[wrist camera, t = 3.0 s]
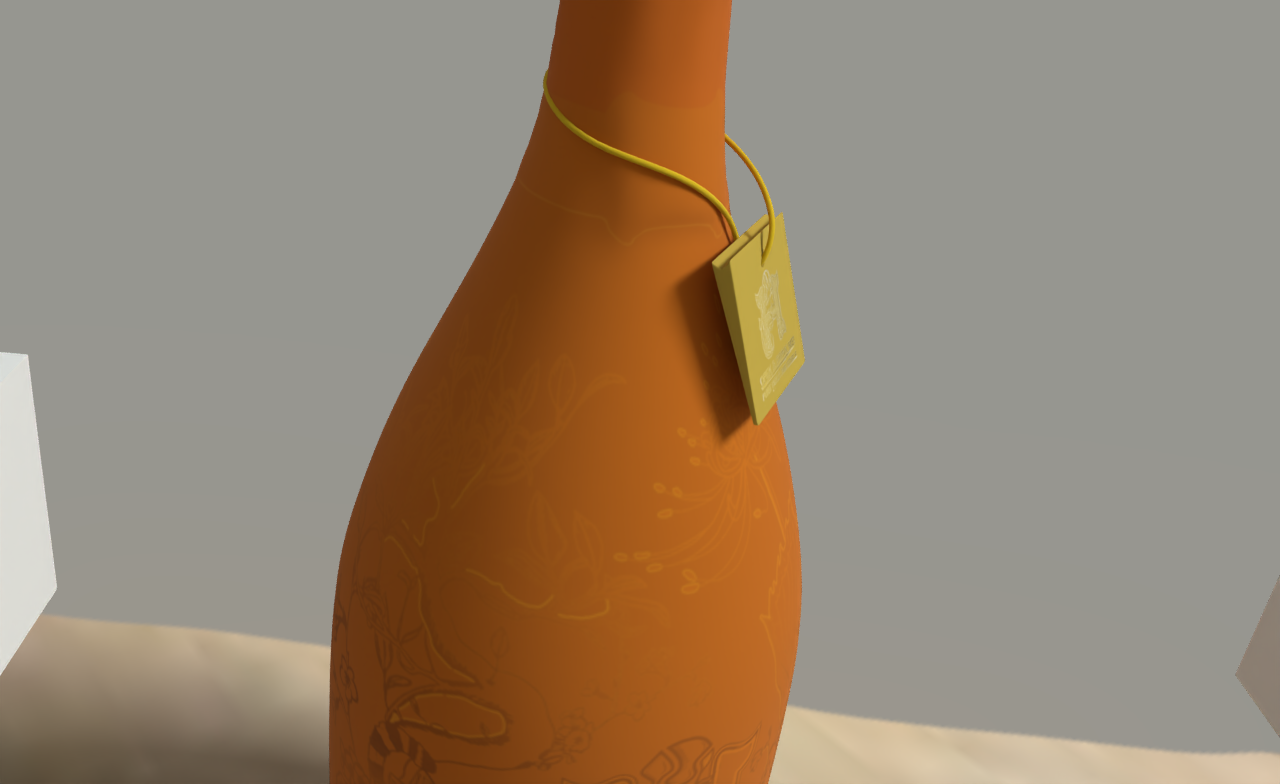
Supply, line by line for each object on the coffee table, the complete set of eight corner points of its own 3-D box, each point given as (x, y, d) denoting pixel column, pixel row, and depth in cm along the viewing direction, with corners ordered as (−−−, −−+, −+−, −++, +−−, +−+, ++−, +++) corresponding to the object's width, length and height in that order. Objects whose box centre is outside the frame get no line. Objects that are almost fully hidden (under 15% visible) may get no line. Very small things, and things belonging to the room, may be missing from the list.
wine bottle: (410, 1225, 24) (550, -674, 11) (278, 863, 32) (258, -543, 18) (793, 1033, 29) (1234, -438, 15) (603, 757, 36) (786, -411, 23)
